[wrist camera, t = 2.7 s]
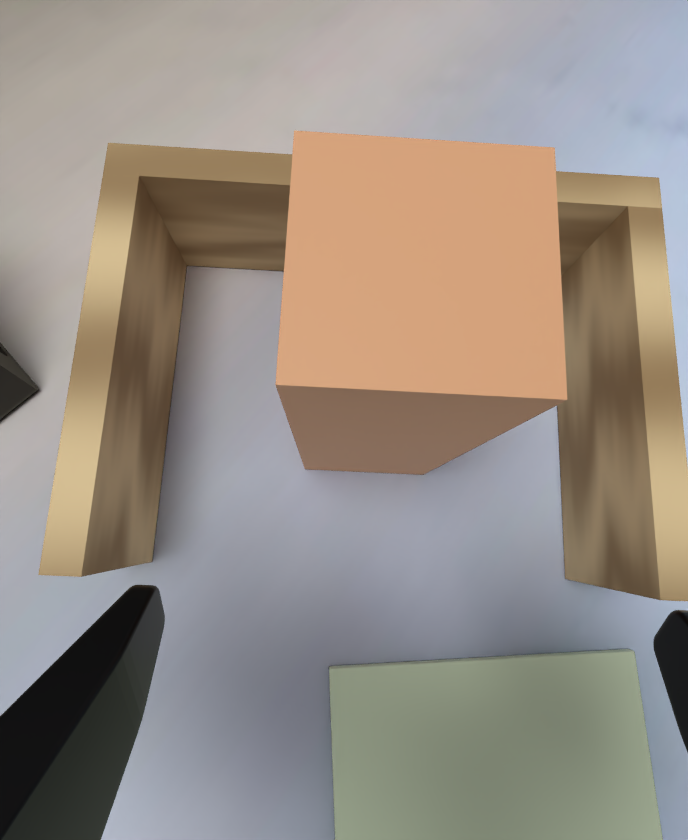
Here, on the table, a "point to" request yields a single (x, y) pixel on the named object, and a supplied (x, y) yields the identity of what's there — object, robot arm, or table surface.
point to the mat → (492, 749)
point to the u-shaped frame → (265, 250)
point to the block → (417, 298)
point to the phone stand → (13, 383)
